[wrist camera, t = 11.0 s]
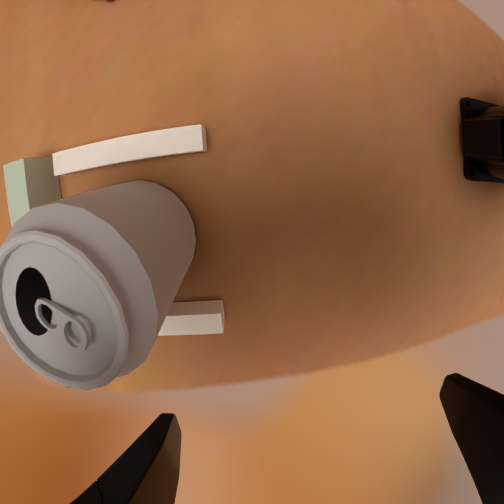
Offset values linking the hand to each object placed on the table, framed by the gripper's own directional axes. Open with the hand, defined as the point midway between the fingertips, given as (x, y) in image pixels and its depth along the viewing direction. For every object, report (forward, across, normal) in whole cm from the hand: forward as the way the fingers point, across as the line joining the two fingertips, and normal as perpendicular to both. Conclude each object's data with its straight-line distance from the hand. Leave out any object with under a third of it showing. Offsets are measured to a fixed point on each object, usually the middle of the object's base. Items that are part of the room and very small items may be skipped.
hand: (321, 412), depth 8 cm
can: (+13, +9, -3) cm, 16 cm away
